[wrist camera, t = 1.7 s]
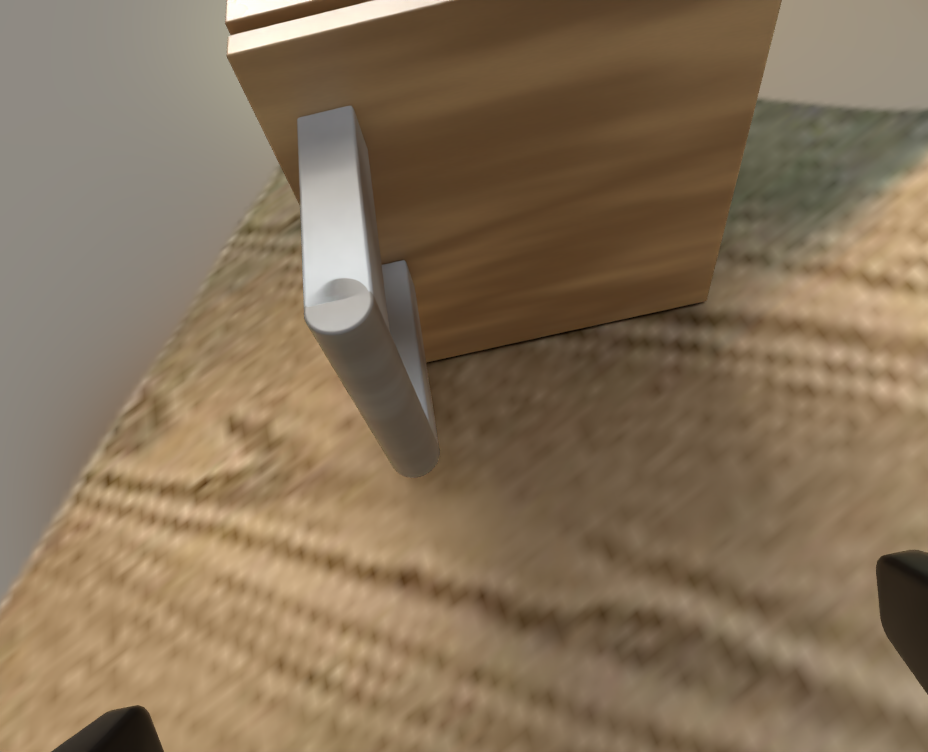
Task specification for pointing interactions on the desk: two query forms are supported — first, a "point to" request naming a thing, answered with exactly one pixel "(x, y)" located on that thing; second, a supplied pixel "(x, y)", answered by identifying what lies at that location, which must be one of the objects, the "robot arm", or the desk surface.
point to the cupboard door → (499, 173)
